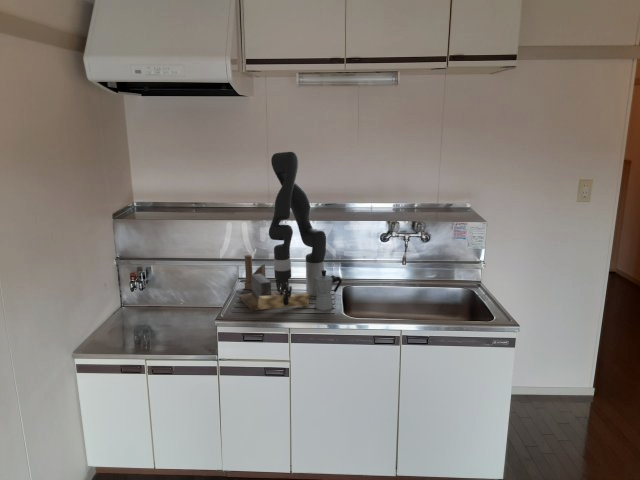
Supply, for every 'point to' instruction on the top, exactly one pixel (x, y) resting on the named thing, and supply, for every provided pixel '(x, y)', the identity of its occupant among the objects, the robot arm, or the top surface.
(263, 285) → the ridge stand
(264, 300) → the oak bar
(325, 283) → the coffee maker
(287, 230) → the robot arm
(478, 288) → the top surface
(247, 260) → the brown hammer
